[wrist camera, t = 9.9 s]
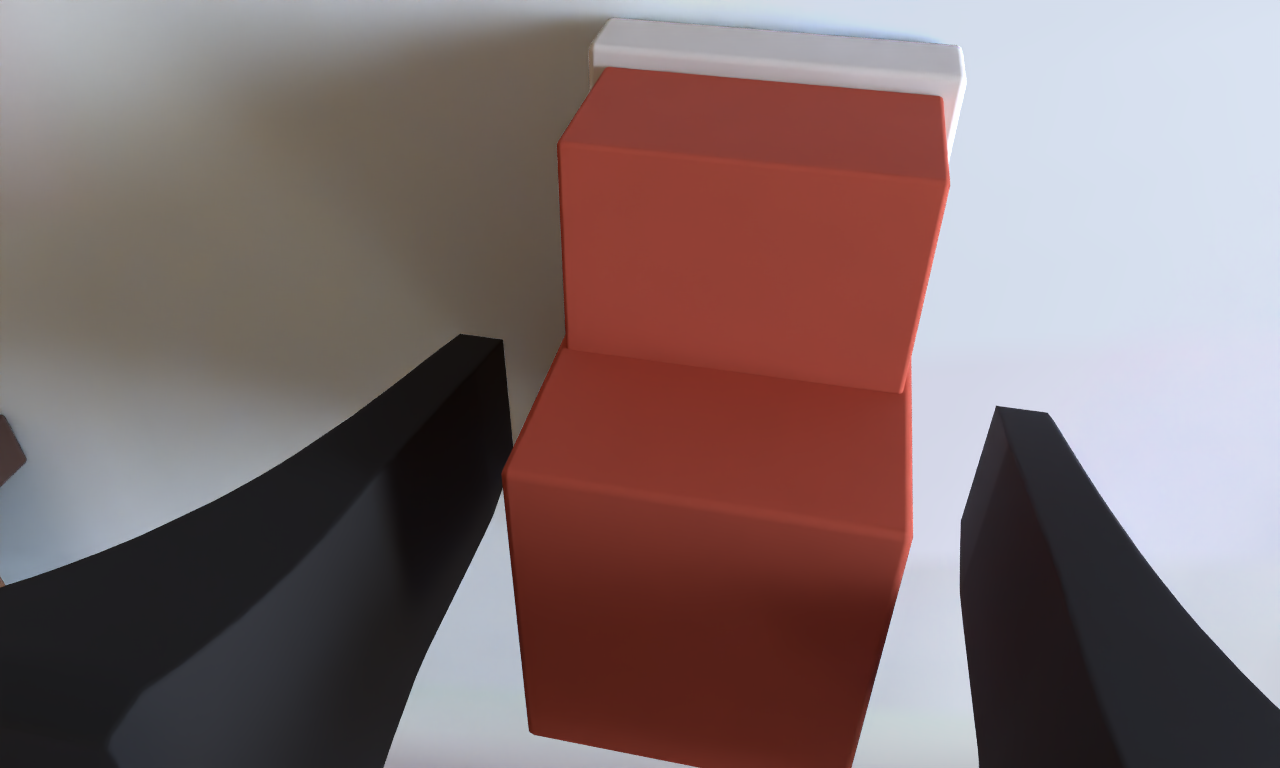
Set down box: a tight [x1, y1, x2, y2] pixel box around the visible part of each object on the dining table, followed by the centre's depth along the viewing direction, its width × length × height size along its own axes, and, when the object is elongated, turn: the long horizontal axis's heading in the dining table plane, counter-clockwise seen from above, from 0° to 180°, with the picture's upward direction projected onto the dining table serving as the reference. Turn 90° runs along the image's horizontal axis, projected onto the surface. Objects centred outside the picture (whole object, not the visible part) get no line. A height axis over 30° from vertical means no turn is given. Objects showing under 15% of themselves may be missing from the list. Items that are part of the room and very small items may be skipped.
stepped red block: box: [501, 18, 966, 768], centre depth 11 cm, size 7×4×5 cm, turn 179°
